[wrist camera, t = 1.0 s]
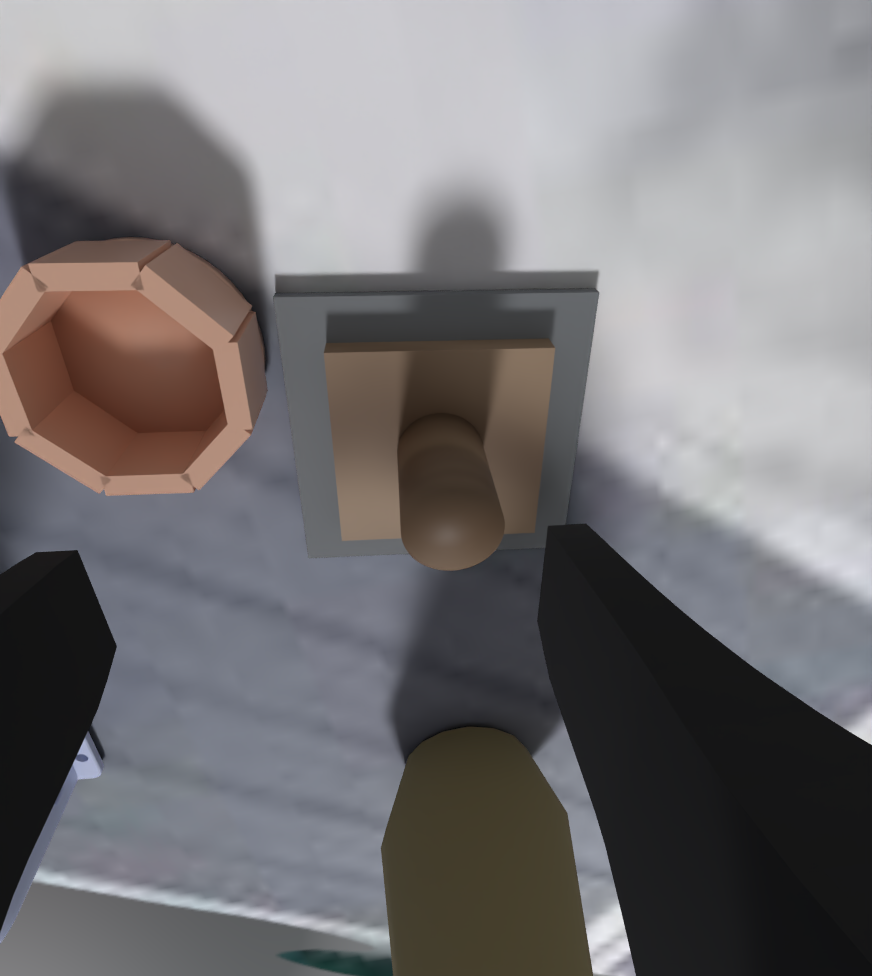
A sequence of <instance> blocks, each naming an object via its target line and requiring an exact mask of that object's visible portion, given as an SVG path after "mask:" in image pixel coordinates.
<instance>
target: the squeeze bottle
mask: <svg viewBox="0 0 872 976" xmlns="http://www.w3.org/2000/svg"><path fill="white" fill-rule="evenodd" d="M381 853H382V863H383V874H384V884H385V894H386V905H387V915H388V925H389V936H390V946H391V956H392V967H393V976H593V972H592V965H591V959H590V953H589V947H588V940H587V934H586V928H585V922H584V915H583V909H582V903H581V896H580V890H579V884H578V878H577V871H576V865H575V859H574V852H573V846H572V840H571V834H570V827H569V821H568V815H567V812H566V810H565V809H564V807H563V806H562V804H561V802H560V801H559V799H558V798H557V796H556V795H555V793H554V791H553V790H552V788H551V787H550V785H549V783H548V782H547V780H546V779H545V777H544V776H543V774H542V772H541V771H540V769H539V768H538V766H537V764H536V763H535V761H534V760H533V758H532V756H531V755H530V753H529V752H528V750H527V749H526V747H525V746H524V745H523V744H522V743H521V742H520V741H519V740H518V739H517V738H516V737H515V736H513V735H511V734H508V733H505V732H503V731H500V730H497V729H495V728H484V727H464V728H459V729H454V730H448V731H443V732H441V733H439V734H437V735H435V736H433V737H431V738H429V739H427V740H425V741H423V742H422V743H421V744H420V745H419V746H418V747H417V748H416V749H415V750H414V751H413V752H412V753H411V754H410V755H409V756H408V760H407V763H406V766H405V769H404V772H403V776H402V779H401V782H400V785H399V789H398V792H397V795H396V798H395V802H394V805H393V808H392V811H391V814H390V818H389V821H388V824H387V827H386V831H385V835H384V838H383V842H382V846H381Z"/></svg>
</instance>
